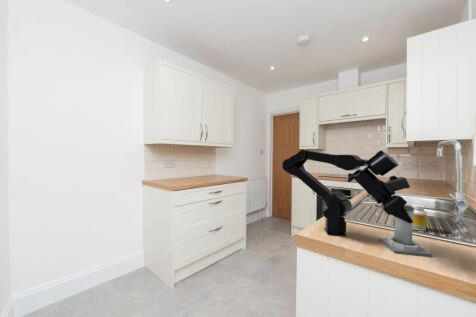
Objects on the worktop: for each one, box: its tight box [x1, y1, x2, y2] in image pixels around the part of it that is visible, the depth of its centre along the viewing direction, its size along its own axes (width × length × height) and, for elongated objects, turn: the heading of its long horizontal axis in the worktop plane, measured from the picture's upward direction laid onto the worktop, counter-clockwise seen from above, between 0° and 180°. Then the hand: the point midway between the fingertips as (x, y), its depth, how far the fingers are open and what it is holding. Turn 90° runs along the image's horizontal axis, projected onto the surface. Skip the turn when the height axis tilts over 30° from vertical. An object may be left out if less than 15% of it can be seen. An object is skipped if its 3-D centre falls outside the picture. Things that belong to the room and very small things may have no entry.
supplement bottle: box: [411, 204, 428, 232], centre depth 87 cm, size 5×5×10 cm
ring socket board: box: [378, 236, 433, 258], centre depth 68 cm, size 10×10×2 cm
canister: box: [393, 204, 414, 243], centre depth 68 cm, size 5×5×11 cm
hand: (409, 220), depth 68 cm, fingers closed on canister, 5 cm apart
